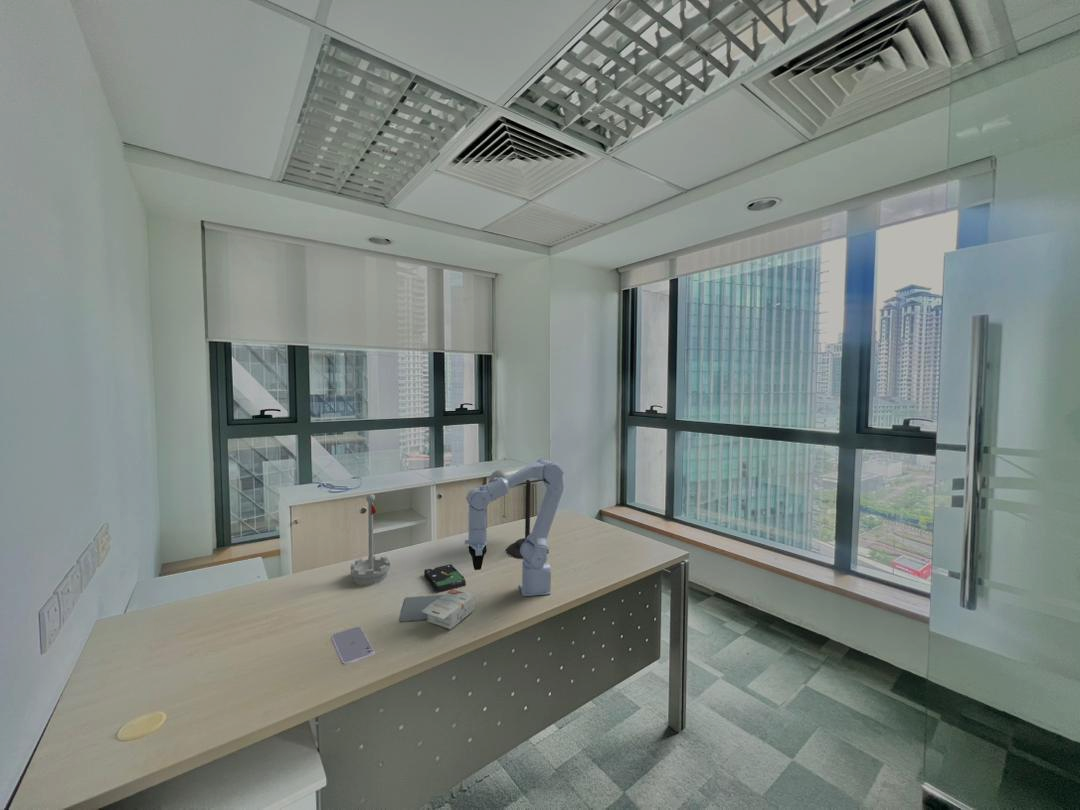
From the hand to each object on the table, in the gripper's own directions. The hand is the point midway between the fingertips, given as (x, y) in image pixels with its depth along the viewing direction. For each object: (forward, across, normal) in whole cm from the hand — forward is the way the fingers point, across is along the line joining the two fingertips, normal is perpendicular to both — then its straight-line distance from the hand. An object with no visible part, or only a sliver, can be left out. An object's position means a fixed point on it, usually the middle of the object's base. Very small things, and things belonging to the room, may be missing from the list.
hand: (477, 569), depth 135 cm
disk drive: (+11, -16, -11) cm, 22 cm away
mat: (+10, +2, -15) cm, 18 cm away
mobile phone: (+11, +18, -34) cm, 39 cm away
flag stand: (+10, -22, -36) cm, 44 cm away
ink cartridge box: (+8, +4, -4) cm, 9 cm away
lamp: (+11, -41, +21) cm, 47 cm away
